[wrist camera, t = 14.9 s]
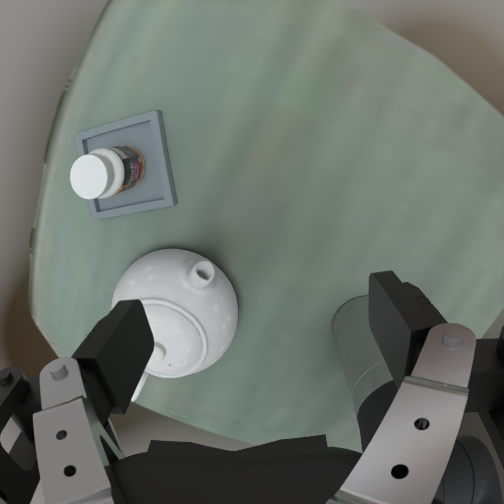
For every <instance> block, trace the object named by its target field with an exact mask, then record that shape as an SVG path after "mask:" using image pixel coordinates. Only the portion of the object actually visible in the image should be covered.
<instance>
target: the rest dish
mask: <svg viewBox="0 0 504 504" xmlns="http://www.w3.org/2000/svg"><path fill="white" fill-rule="evenodd" d="M75 139H76V145H77V151H78V157H81V156H83V155H86V154H89V153H90V152H91V151H93V150H95V149H99V148H105V147H115V146H130V147H133V148H135V149H136V150H137V151H138V152H139V153H140V154H141V155H142V157H143V160H144V165H145V170H144V174H143V177H142V179H141V181H140V182H139V183H138V184H137V185H136V186H134V187H132V188H130V189H128V190H126V191H123V192H121V193H118V194H116V195H113V196H111V197H108V198H103V199H102V198H94V199H87V200H88V205H89V209H90V213H91V217H92V221H95V220H99V219H104V218H110V217H115V216H120V215H125V214H130V213H136V212H141V211H147V210H152V209H158V208H164V207H170V206H174V205H175V204H176V203H177V198H176V193H175V188H174V183H173V178H172V172H171V167H170V161H169V155H168V150H167V144H166V138H165V132H164V126H163V119H162V113H161V111H158V110H155V111H151V112H147V113H144V114H140V115H136V116H133V117H129V118H125V119H122V120H119V121H115V122H112V123H109V124H105V125H102V126H99V127H96V128H93V129H90V130H87V131H84V132H81V133H78V134H75Z"/></svg>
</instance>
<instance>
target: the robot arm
mask: <svg viewBox="0 0 504 504" xmlns="http://www.w3.org/2000/svg"><path fill="white" fill-rule="evenodd" d="M332 331H333V335H334V338H335V341H336V345H337V349H338V352H339V356H340V359H341V363H342V366H343V369H344V373H345V377H346V380H347V384H348V387H349V391H350V395H351V398H352V401H353V405H354V409H355V413H356V416H357V420H358V424H359V428H360V435H361V444H362V451H363V454H362V453H359V452H356V451H353V450H349V449H344V448H338V447H327V441H326V434H325V435H318V436H310V437H302V438H292V439H282V440H277V441H274V442H270V443H266V444H262V445H259V446H255V447H251V448H247V449H242V450H238V451H228V450H223V449H218V448H213V447H208V446H204V445H200V444H196V443H192V442H174V441H158V440H151V442H150V445H149V448H148V451H147V452H143V453H139V454H134V455H131V456H128V457H126V456H125V453H124V451H123V449H122V447H121V444H120V442H119V440H118V437H117V435H116V433H115V430H114V428H113V425H112V423H111V421H110V420H109V415H110V414H111V413H112V414H123V415H125V413H126V410H127V408H128V406H129V404H130V401H131V399H132V397H133V395H134V392H135V390H136V388H137V386H138V384H139V381H140V379H141V377H142V375H143V373H144V370H145V368H146V366H147V364H148V362H149V360H150V357H151V355H152V353H153V351H154V337H153V333H152V330H151V327H150V325H149V322H148V319H147V316H146V313H145V309H144V306H143V304H142V302H141V301H140V300H139V299H132V300H120V301H118V303H117V304H116V305H115V306H114V308H113V309H112V310H111V311H110V313H109V314H108V315H107V316H105V317H104V318H103V319H101V320H100V321H98V323H97V324H96V325H95V326H94V328H93V329H92V331H91V332H90V333H89V334H88V336H87V338H85V339H84V341H83V342H82V343H81V345H80V346H79V347H78V349H77V350H76V351H75V353H74V354H73V355H72V357H71V358H70V357H65V358H60V359H57V360H55V361H52V362H51V363H49V364H48V365H47V366H45V367H44V368H43V370H42V371H41V373H40V377H36V378H29V379H26V377H25V375H24V373H23V372H22V370H21V368H19V367H16V366H12V367H7V368H5V369H3V370H2V371H0V434H1V432H2V430H3V428H4V427H5V425H6V424H7V422H8V420H9V419H10V417H11V418H12V419H13V421H14V422H15V423H16V425H17V426H18V427H19V429H20V430H21V433H20V434H19V436H18V438H17V440H16V441H15V443H14V445H13V447H12V449H11V451H10V452H9V454H8V453H7V452H6V451H5V450H4V448H3V447H2V445H1V442H0V504H30V502H31V500H32V497H33V495H34V492H35V489H36V488H37V485H38V483H39V481H40V479H41V484H42V489H43V493H44V498H45V503H46V504H504V502H503V497H502V491H501V486H500V482H499V477H498V473H497V469H496V466H495V463H494V461H493V458H492V456H491V454H490V452H489V450H488V449H487V447H486V446H485V444H484V443H483V442H482V441H481V440H480V439H478V438H477V437H474V436H471V435H462V436H457V434H458V430H459V427H460V424H461V420H462V416H463V413H466V412H478V414H479V416H480V418H481V420H482V422H483V424H484V426H485V428H486V430H487V432H488V434H489V437H490V439H491V441H492V443H493V446H494V448H495V450H496V452H497V455H498V457H499V459H500V461H501V464H502V466H503V469H504V326H503V327H502V330H501V333H500V336H499V338H498V339H497V338H496V339H476V336H475V334H474V333H473V332H472V331H471V330H470V329H469V328H467V327H465V326H463V325H461V324H457V323H448V322H447V321H446V320H445V319H444V317H443V316H442V315H441V314H440V313H439V311H438V310H437V309H436V308H435V307H434V305H433V304H431V302H430V301H429V299H428V298H427V297H425V295H424V294H423V292H422V291H421V290H420V289H419V288H418V287H416V286H414V285H412V284H410V283H408V282H404V283H402V282H401V281H400V280H399V278H398V277H397V276H396V275H395V273H394V272H393V271H391V270H390V271H383V272H376V273H371V274H370V276H369V296H362V297H358V298H355V299H353V300H351V301H349V302H347V303H346V304H344V305H343V306H342V307H341V308H340V309H339V311H338V312H337V313H336V315H335V317H334V320H333V324H332Z"/></svg>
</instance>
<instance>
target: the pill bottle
mask: <svg viewBox="0 0 504 504" xmlns="http://www.w3.org/2000/svg"><path fill="white" fill-rule="evenodd" d="M144 170H145V165H144V160H143V157H142V155H141V154H140V153H139V152H138V151H137V150H136V149H135V148H133V147H130V146H115V147H105V148H99V149H95V150H93V151H91V152H90V153H89V154H86V155H83V156H81V157H79V158H78V159H77V160H76V161H75V163H74V164H73V166H72V169H71V174H70V180H71V185H72V187H73V189H74V191H75V192H76V193H77V194H78V195H79V196H80V197H82V198H84V199H94V198H102V199H103V198H108V197H111V196H113V195H116V194H118V193H121V192H123V191H126V190H128V189H130V188H132V187H134V186H136V185H137V184H138V183H139V182H140V181H141V179H142V177H143V174H144Z"/></svg>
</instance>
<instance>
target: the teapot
mask: <svg viewBox="0 0 504 504" xmlns="http://www.w3.org/2000/svg"><path fill="white" fill-rule="evenodd" d="M132 299H139V300H140V301H141V302H142V304H143V306H144V309H145V313H146V316H147V319H148V322H149V325H150V327H151V330H152V333H153V337H154V351H153V353H152V355H151V357H150V360H149V362H148V364H147V366H146V368H145V370H144V373H143V375H142V377H141V379H140V381H139V384H138V386H137V388H136V390H135V392H134V395H133V397H132V399H131V401H135V400H136V398H137V397H138V395H139V393H140V391H141V389H142V388H143V386H144V383H145V381H146V379H147V377H148V374H149V373H150V374H152V375H155V376H159V377H164V378H177V377H182V376H185V375H189V374H193V373H196V372H199V371H201V370H204V369H205V368H207V367H209V366H211V365H212V364H213V363H215V362H216V361H217V360H218V359H219V358H220V357H221V356H222V355H223V354H224V353H225V352H226V350H227V349H228V347H229V345H230V344H231V342H232V340H233V337H234V335H235V332H236V328H237V323H238V305H237V299H236V295H235V292H234V289H233V287H232V285H231V283H230V281H229V280H228V278H227V277H226V276H225V274H224V273H223V272H222V271H221V270H220V269H219V268H218V267H217V266H216V265H215V264H214V263H212V262H211V261H210V260H208V259H207V258H205V257H203V256H201V255H199V254H196V253H193V252H190V251H186V250H181V249H162V250H157V251H154V252H151V253H149V254H146V255H144V256H143V257H141V258H139V259H138V260H137V261H135V262H134V263H133V264H132V265H131V266H130V267H129V268H128V269H127V270H126V271H125V272H124V274H123V275H122V277H121V278H120V280H119V282H118V284H117V286H116V288H115V291H114V295H113V299H112V307H111V310H112V309H113V308H114V306H115V305H116V304H117V303H118V301H120V300H132Z"/></svg>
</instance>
